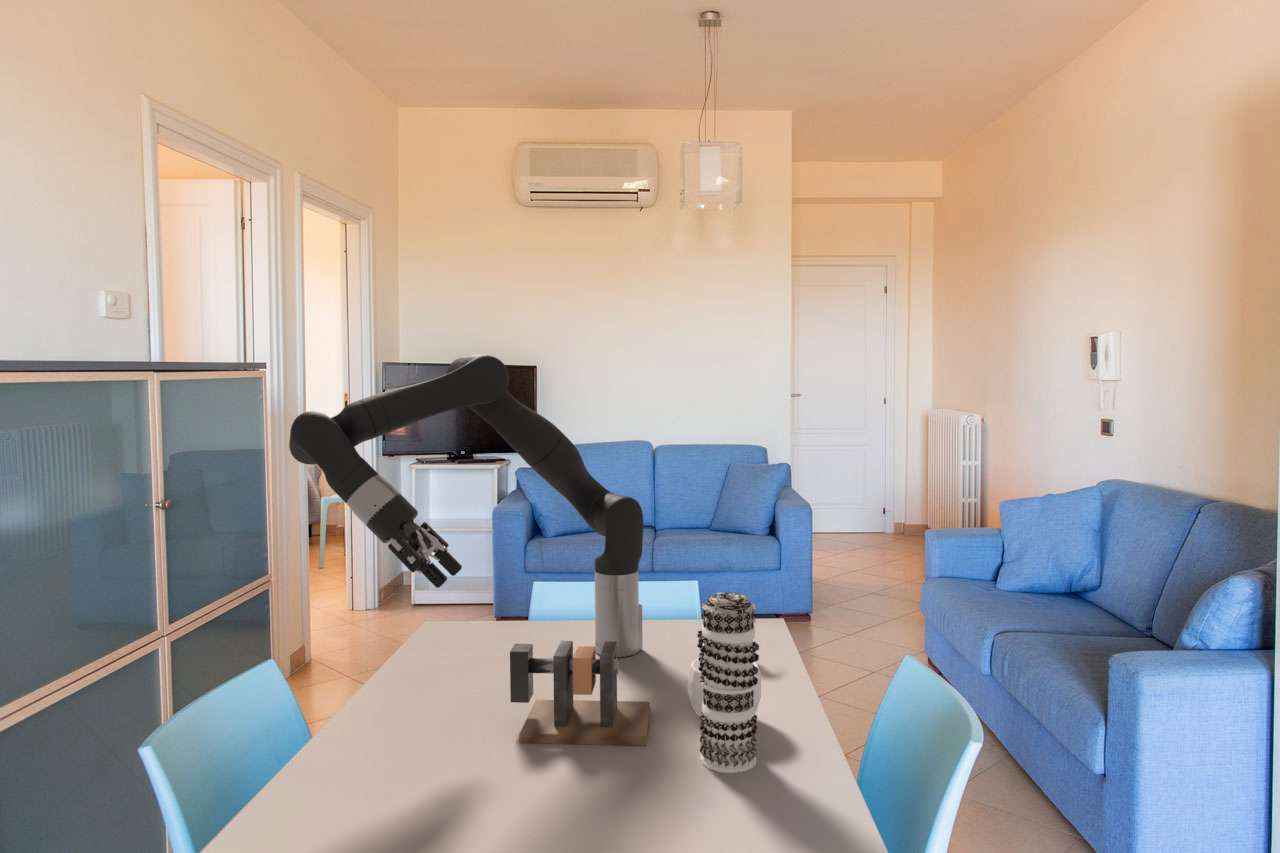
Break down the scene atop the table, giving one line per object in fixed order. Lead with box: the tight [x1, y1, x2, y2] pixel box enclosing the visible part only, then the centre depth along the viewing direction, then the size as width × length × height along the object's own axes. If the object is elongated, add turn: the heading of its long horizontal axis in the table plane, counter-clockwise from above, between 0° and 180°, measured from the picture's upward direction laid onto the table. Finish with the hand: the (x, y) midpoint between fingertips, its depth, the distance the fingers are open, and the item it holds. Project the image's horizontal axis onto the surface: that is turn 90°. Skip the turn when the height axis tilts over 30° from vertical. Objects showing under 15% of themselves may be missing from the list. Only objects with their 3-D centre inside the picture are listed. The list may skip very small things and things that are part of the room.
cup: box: [687, 657, 762, 718], centre depth 139 cm, size 12×12×10 cm
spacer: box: [573, 645, 597, 696], centre depth 137 cm, size 3×6×6 cm, turn 176°
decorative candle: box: [696, 591, 760, 774], centre depth 124 cm, size 9×9×25 cm
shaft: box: [509, 643, 619, 704], centre depth 138 cm, size 18×4×8 cm, turn 86°
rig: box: [519, 640, 651, 746], centre depth 137 cm, size 20×14×13 cm
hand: (450, 577), depth 138 cm, fingers open, 8 cm apart
